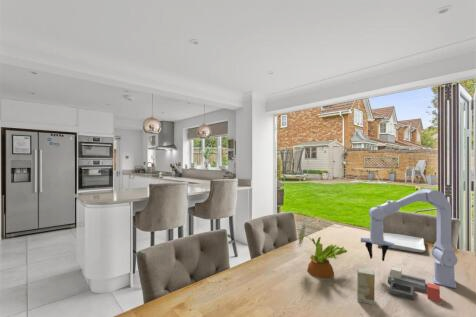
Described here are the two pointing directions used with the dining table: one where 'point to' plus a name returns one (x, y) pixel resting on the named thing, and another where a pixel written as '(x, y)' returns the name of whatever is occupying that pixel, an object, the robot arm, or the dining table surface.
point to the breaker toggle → (396, 272)
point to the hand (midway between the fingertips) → (377, 259)
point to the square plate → (405, 242)
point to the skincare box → (365, 285)
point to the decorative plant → (321, 257)
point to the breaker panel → (409, 281)
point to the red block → (433, 292)
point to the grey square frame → (400, 293)
